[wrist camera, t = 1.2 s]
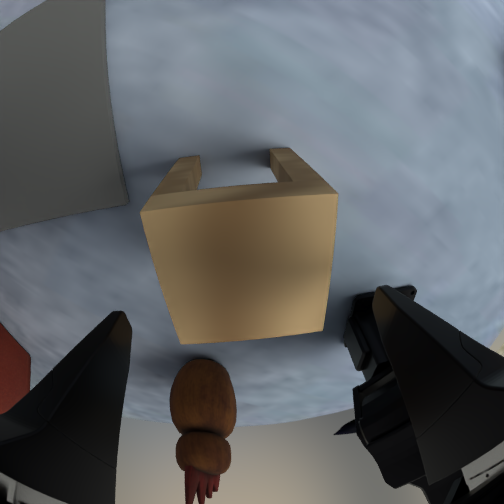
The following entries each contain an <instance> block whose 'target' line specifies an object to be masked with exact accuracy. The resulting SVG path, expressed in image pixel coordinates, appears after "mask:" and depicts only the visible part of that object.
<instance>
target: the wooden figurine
mask: <svg viewBox="0 0 504 504" xmlns="http://www.w3.org/2000/svg"><path fill="white" fill-rule="evenodd" d="M170 412H171V416H172V421H173V423H174V425H175V426H176V428H177V430H178V431H179V433H181V434H182V436H181V437H180V438H179V440H178V442H177V444H176V459H177V463H178V465H179V467H180V468H181V470H183V471H185V501H186V504H193V501H194V497H195V494H196V492H197V497H198V502H199V504H204V502H205V495H206V497H207V498H212V491H213V492H217V491H218V487H219V480H220V474H222V473H224V472H226V471H227V469H228V468H229V466H230V463H231V448H230V445H229V443H228V441H226V440H225V438H227V437H228V436H229V435H230V434H231V433H232V431H233V429H234V426H235V423H236V413H237V409H236V399H235V394H234V389H233V386H232V383H231V380H230V377H229V374H228V372H227V371H226V369H225V368H224V367H223V366H222V365H220V364H219V363H217V362H214V361H212V360H207V359H195V360H192V361H190V362H188V363H186V364H185V365H184V366H183V367H182V368H181V369H180V371H179V372H178V374H177V376H176V377H175V379H174V382H173V385H172V388H171V392H170Z"/></svg>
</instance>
